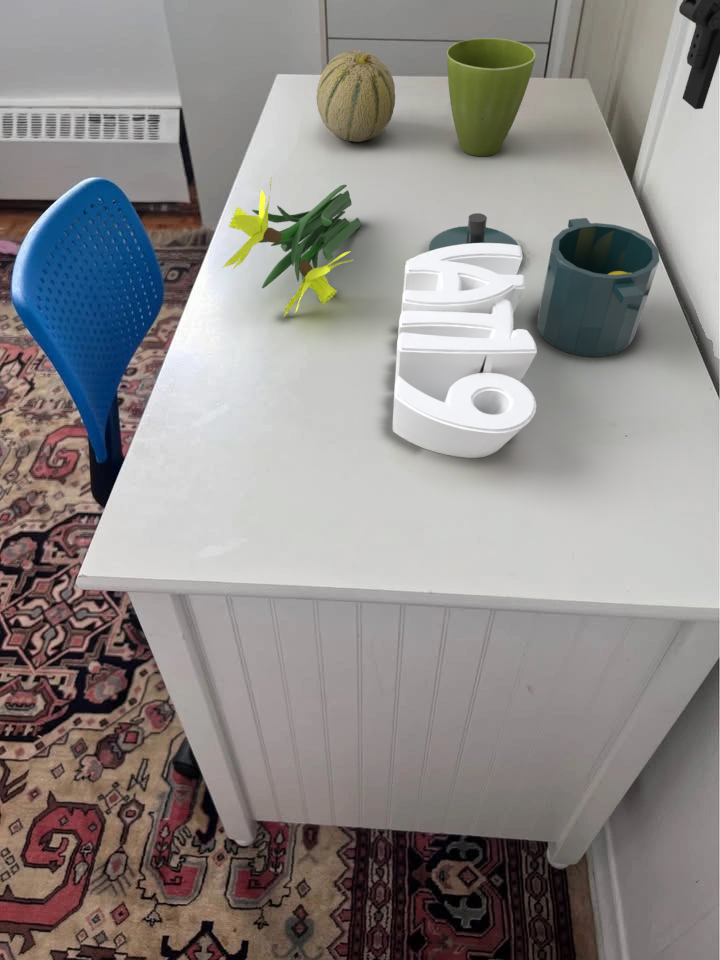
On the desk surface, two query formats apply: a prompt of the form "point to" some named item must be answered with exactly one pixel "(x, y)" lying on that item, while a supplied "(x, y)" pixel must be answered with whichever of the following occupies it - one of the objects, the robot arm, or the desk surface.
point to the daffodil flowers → (311, 224)
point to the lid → (470, 234)
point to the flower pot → (487, 90)
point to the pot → (596, 288)
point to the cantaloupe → (356, 96)
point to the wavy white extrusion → (462, 351)
